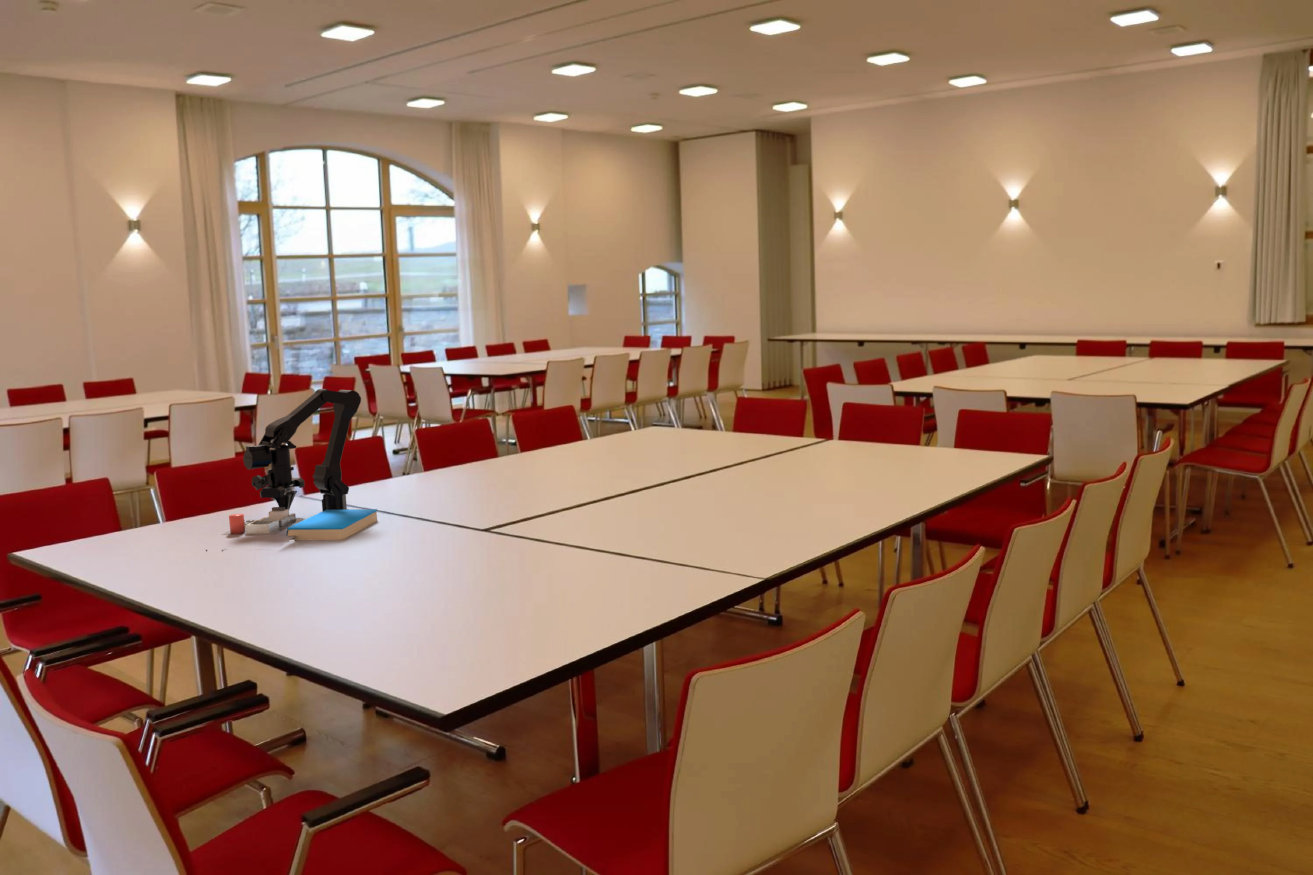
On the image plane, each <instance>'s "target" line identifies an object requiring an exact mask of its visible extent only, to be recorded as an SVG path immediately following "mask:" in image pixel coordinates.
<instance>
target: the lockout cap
mask: <svg viewBox="0 0 1313 875" xmlns="http://www.w3.org/2000/svg"><path fill="white" fill-rule="evenodd" d="M244 516H245V514H244V513H234V514H233V513H232V514H229V515H228V521H229V531H230V533H231V534H238V533H243V532H245V523H244V522H245V517H244Z"/></svg>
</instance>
